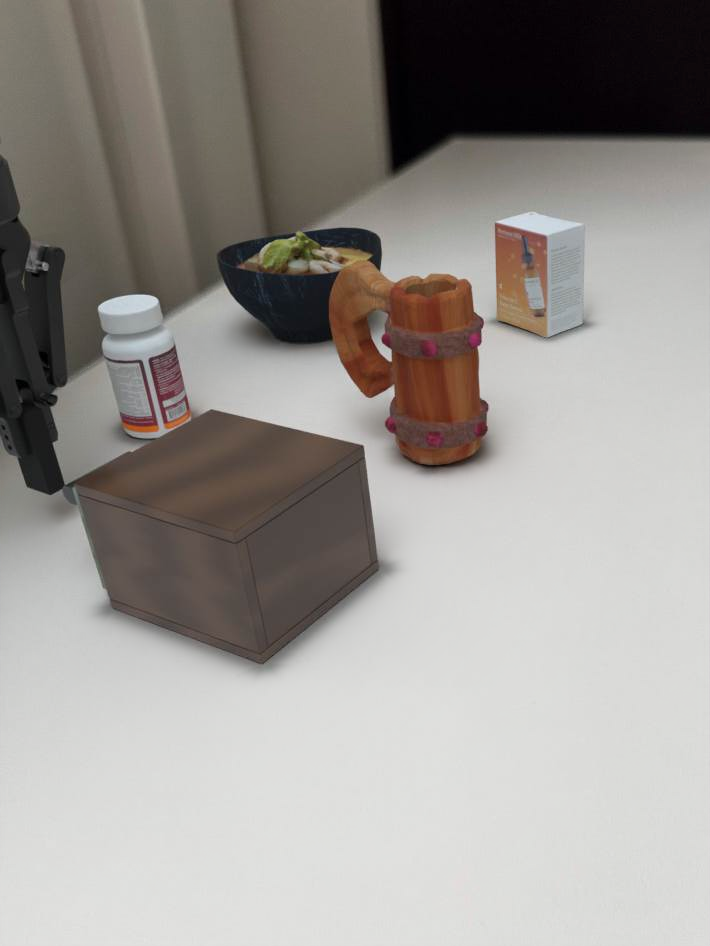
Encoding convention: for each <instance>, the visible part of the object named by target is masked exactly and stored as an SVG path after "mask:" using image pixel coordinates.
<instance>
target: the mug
mask: <svg viewBox="0 0 710 946" xmlns="http://www.w3.org/2000/svg"><path fill="white" fill-rule="evenodd" d="M472 288H473V286H472V284H471V282H470V281H469V280H468V279H467V278H460V279H458V278H457V277H456V276H454V275H451V274H449V273H429V274H428V275H427V276H426V277H425V278H422V277H421V276H419V275H410V276H407V277H404V278H401V279H399V280H397V281H396V282H395V281H392V280H390V279H388V277H386V276H385V275H384V274H383V273H382V271H381V270H380V271H379V270H378V269H377V268H376V267H375V265H374V264H372V263H371V262H370V261H365V260H360V261H357V262H355V263H353V264H350V265H348V266H346V267H344V268H343V269H341V271H340V272H339V274H338V276H337V278H336V280H335V282H334V285H333V287H332V290H331V294H330V299H329V321H330V326H331V331H332V336H333V339H332V340H333V344H334V346H335V350H336V352H337V355H338V357H339V361H340V363H341V365H342V366H343V368H344V370H345V371H346V373H347V374H348V377H349V378H350V380H351V381H352V382H353V383H354V385H355V386H356V387H357V389H358V391H360V392H361V393H362V394H363V396H364V397H366V398H368V399H373V398H375V397H376V396H379V395H380V394H382V393H384V392H386V391H388V390H389V389H390V388H391V387H392V386H393V387H394V389H393V390H394V396H393V397H392V399H391V401H390V405H389V416H388V417H387V418H386V419H385V421H384V427H385V428H386V430H387V431H388V432H390V433H391V434H394V435H395V436H394V437H395V439H394V440H395V444H396V446H397V448H398V449H399V451H400V453H401V454H403V455H404V456H406V458H408V459H410V460H411V461H412V462H415V463H417V464H420V465H426V466H427V465H428V466H433V465H435V466H442V465H449V464H452V463H456V462H459V461H462V460H464V459H466V458H468V457H470V456H473V455H474V454H475V453H476V452H477V451H478V450H479V448H481V446H482V445H483V437H484V436H486V434H487V433H488V431H489V427H488V425H487V424H488V418H487V417H488V412H489V407H490V405H489V403H488V402H487V400H485V399H483V398H481V393H480V392H481V391H480V390H481V388H480V374H479V373H480V355H479V354H480V353H479V348H478V347H480V346H481V345H482V342H483V340H482V339H483V336H482V335H483V332H482V329H483V328H484V326H485V321H484V318H483V317H482V316H481V315H479V314H478V313H477V312H476V311H475V307H474V297H473V295H474V294H473V290H472ZM376 311H381V312H384V313H386V314H387V318H386V320H385V322H384V333H382V335H381V337H380V340H381V343H382V345H383V346H385V347H387V348H388V349H390V350H391V361H390V360H388V359H387V358H386V357H385V356H384V355H383V354H381V352H380V350H379V349H378V347H377V345H376V343H375V342H374V340H373V337H372V333H371V328H370V323H369V319H368V316H370V315H371V314H373V313H375V312H376Z"/></svg>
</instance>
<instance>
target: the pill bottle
mask: <svg viewBox="0 0 710 946" xmlns="http://www.w3.org/2000/svg"><path fill="white" fill-rule="evenodd" d="M97 312H98V317H99V321H100V326H101V329H102V331H104V332H105V333H107V334H106V335H105V336H104V337H103V340H102V342H101V348H102V349H101V350H102V354H103V357H104V361H105V364H106V369H107V372H108V376H109V380H110V384H111V387H112V391H113V394H114V398H115V402H116V406H117V410H118V413H119V417H120V420H121V424H122V428H123V429H124V431H125V433H126V434H128V435H129V436H131V437H134V438H137V439H157V438H159V437H161V436H162V435H164V434H166V433H168V432H170V431H172V430H174V429H175V428H177V427H179V426H181V425H183V424H185V423H187V422H188V421H190V420H192V412H191V407H190V403H189V398H188V395H187V390H186V386H185V381H184V376H183V373H182V369H181V364H180V359H179V356H178V351H177V345H176V342H175V339H174V335H173V333H172V331H171V330H170V329H169V328H168V327H167V326H165V325H162V323H163V321H164V316H163V312H162V309H161V304H160V300H159V299H158V298H157V297H155V296H154V295H149V294H128V295H121V296H116V297H113V298H110V299H108V300H105V301H103V302H102V303H100V304H99V305H98V307H97Z"/></svg>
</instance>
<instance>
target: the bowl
mask: <svg viewBox="0 0 710 946" xmlns="http://www.w3.org/2000/svg"><path fill="white" fill-rule="evenodd" d="M381 239H382V238H380V236H379V235H378V234H377V233H376V232H374V231H372V230H369V229H367V228H366V229H365V228H360V227H332V228H331V227H330V228H323V229H314V230H307V231H299V230H297V232H293V233H285V234H279V235H272V236H266V237H259V238H255V239H254V238H253V239H250V240H245V241H241V242H238V243H234V244H230V245H228V246H226V247H224V248H222V249H220V250H219V251H217V253H216V259H217V265H218V270H219V272H220V275H221V277H222V280H223V283H224V284H225V287H226V288H227V290H228V292H229V294H230V296H232V298H233V299H234V300H235V301H236V303H238V305H239V306H241V307H242V308H243V309H244V310H245V311H246V312H247V313H248V314H249V315H251V316H252V318H254V319H256V320H257V321H259V322H260V323H262V324H263V325H265V326H266V328H267V329H268V332H270V334H271V335H272V336H273V337H274V338H275V339H276V340H278V341H281V342H284V343H289V344H313V343H314V344H315V343H321V342H325V341H330V340H333V336H332V331H331V326H330V321H329V299H330V294H331V290H332V287H333V285H334V282H335V280H336V278H337V276H338V274H339V272H340V271H341V269H343V268H344V267H346V266H348V265H350V264H353V263H355V262H357V261H360V260H365V261H370V262H371V263H372V264H374V265H375V267H376V268H377V269H378V270H379V271H380V272H381V270H382V260H383V247H382V240H381Z"/></svg>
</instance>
